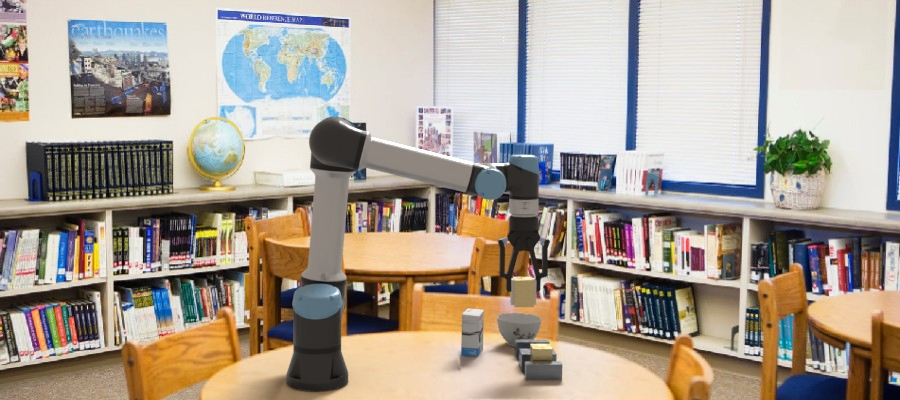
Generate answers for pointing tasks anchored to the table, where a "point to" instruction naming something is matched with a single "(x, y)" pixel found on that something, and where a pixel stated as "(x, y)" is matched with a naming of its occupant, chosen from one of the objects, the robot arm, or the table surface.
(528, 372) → the rail
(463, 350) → the ink box
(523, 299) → the tan square-edged block
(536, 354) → the wooden cube
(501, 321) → the teacup
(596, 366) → the table surface
